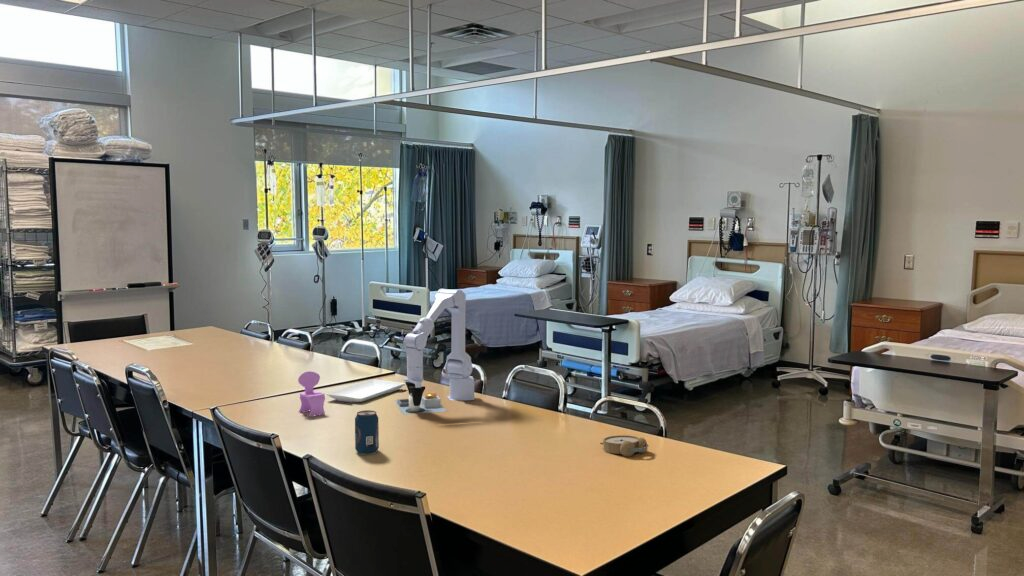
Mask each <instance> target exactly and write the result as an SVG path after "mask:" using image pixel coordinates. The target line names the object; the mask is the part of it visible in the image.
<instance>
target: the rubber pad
mask: <svg viewBox="0 0 1024 576" xmlns="http://www.w3.org/2000/svg"><path fill="white" fill-rule="evenodd" d="M424 411H425V409H423V408H420V410H419V411H409V408H408V409H406V412H408V413H418V414H422V413H421V412H424Z"/></svg>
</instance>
